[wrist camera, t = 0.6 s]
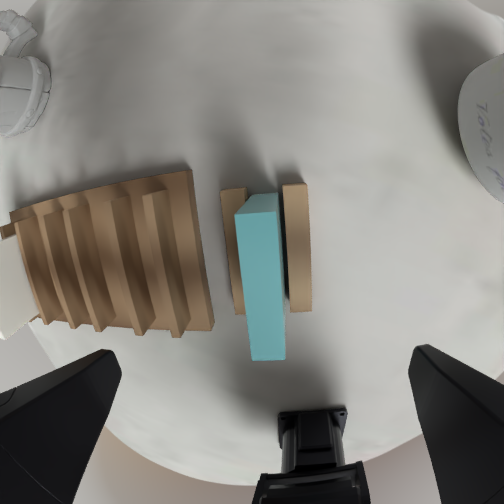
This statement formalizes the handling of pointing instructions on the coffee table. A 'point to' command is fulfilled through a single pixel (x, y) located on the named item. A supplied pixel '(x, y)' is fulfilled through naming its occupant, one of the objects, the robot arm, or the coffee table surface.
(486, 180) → the teacup
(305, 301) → the wooden slats
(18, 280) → the cream plate
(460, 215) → the coffee table surface
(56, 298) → the rack
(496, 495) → the robot arm
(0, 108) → the mug
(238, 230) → the teal rectangular prism
